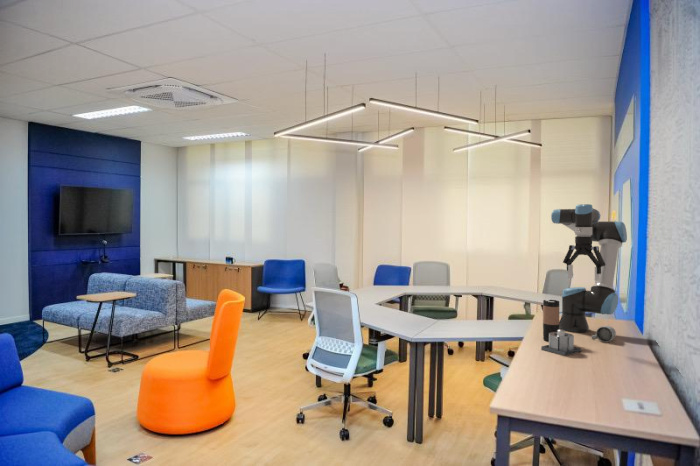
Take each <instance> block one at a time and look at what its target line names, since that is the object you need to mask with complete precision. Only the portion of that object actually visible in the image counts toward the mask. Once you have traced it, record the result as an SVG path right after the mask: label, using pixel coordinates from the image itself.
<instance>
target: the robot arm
mask: <svg viewBox="0 0 700 466" xmlns="http://www.w3.org/2000/svg"><path fill="white" fill-rule="evenodd" d="M550 219H551V222H552V224H556V225H558V224H560V225H561V224H562V225H563V226H565V228H568V229H570V230H571V231H573V232H574V234H575V237H574V243H575V244H572V245H571V244H570V245H568V251H567V253H566V254H565V256H564V259H563V260H562V263H563V264H565V265H566V271H567V272H568V273H567V278H569V279H573V277H574V274H573V273H574V272H573V271H574V269H573V268H574V265H573V262H574V261H575V260H576V259H577V258H578V256H588V258H589V259H590V260H591V262H592V263H593V264H594V265H595V267H594V285H592V286H590V290H587V289H586V287H583V286H580V287H577V286H575V287H574V286H573V287H567V288H564V289H563V290H562V296H561V303H562V304H561V317H560V318H559V330H565V332H572V333H586V332H589V329H590V327H589V323H588V321H587V317H586V313H592V314H600V315H612V314H614V313H615V311H616V310H617V308H618V303H619V295H618V293H616V290H615V289H614V280H615V274H616V273H615V272H616V266H617V259H618V253H619V249H620V248H621V247H622V246H623V244H624V243H627V242H628V241H627V240H628V234H627V233H628V231H627V228H626V224H625V223H624V222H623V221H619V220H618V221H617V220H614V221H609V220H608V221H600V219H601V213H600V211H599V210H597V209H595V208H593V205H592V204H589V203H588V204H585V203H584V204H580V203H579V204H576V205H575V208H564V209H563V208H557V209H556V208H555V209H553V210H552V212H551V216H550ZM593 242H598V244H599V246H600V247H599V246H598V245H596V246H593ZM574 250H575V251H574Z"/></svg>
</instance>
